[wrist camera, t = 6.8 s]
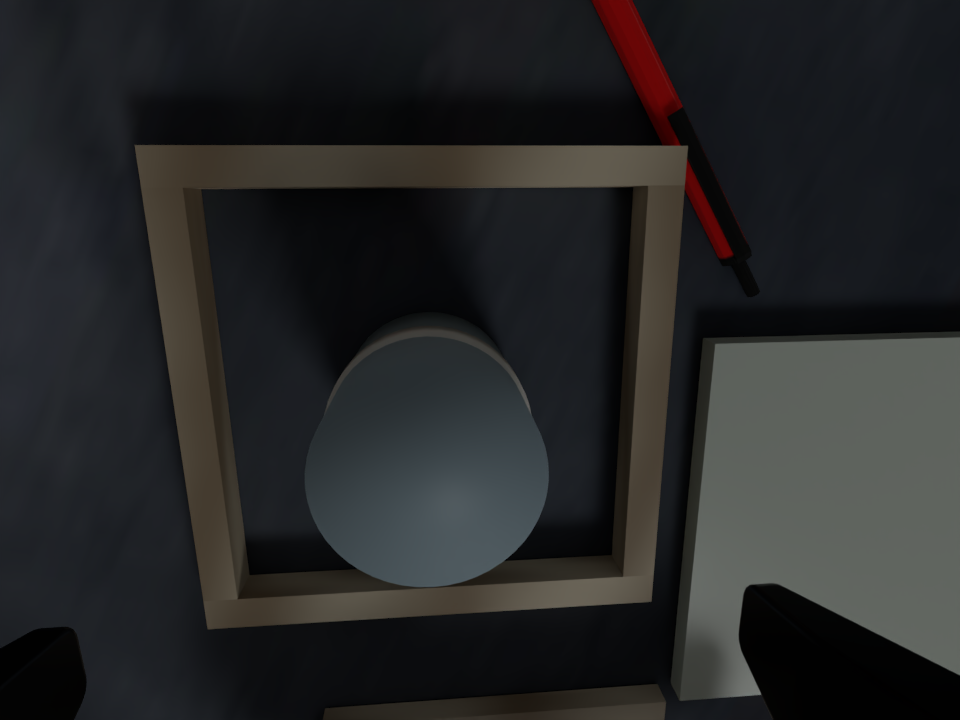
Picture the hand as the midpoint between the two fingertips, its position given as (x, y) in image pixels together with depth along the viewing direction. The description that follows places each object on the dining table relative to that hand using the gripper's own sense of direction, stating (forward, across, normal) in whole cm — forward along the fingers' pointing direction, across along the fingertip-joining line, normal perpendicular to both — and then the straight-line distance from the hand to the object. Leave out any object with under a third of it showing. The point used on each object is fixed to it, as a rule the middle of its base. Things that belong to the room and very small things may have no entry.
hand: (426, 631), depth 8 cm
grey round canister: (+10, 0, 0) cm, 10 cm away
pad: (+10, -14, +5) cm, 18 cm away
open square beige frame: (+10, 0, 0) cm, 10 cm away
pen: (+11, -5, -11) cm, 16 cm away
